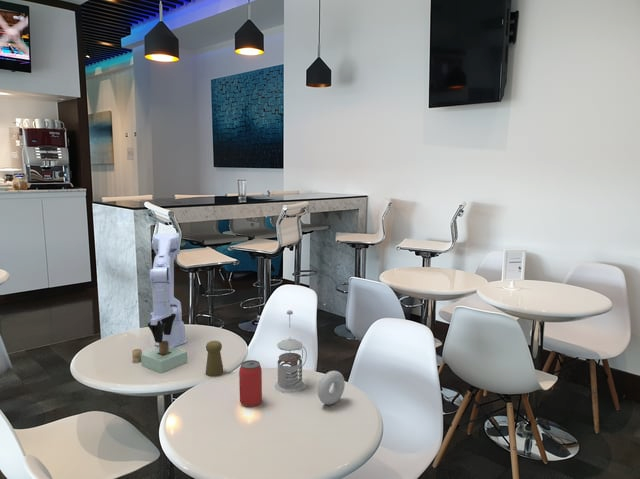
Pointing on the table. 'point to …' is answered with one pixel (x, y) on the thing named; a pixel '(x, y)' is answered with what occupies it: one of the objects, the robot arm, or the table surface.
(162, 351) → the long pin
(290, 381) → the french press
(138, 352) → the short pin
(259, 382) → the beer can
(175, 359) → the collar block
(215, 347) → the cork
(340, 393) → the donut
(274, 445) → the table surface
